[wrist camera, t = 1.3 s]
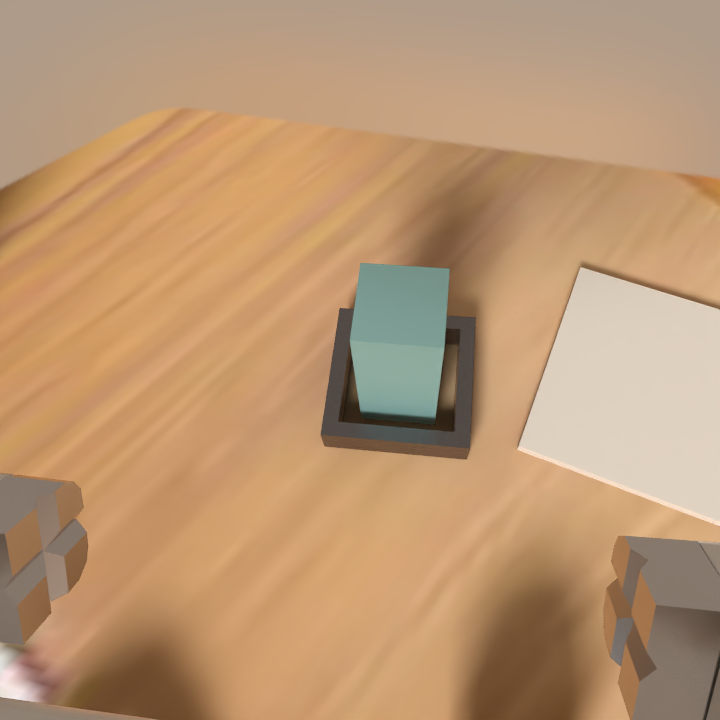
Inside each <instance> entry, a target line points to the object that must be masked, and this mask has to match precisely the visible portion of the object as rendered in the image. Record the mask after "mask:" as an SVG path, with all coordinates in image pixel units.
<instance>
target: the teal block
mask: <svg viewBox="0 0 720 720" xmlns="http://www.w3.org/2000/svg"><path fill="white" fill-rule="evenodd" d="M449 272H450V269H448V268H432V267H417V266H401V265H385V264H369V263H361V264H360V271H359V278H358V285H357V292H356V299H355V307H354V314H353V321H352V328H351V335H350V346H351V352H352V359H353V366H354V372H355V379H356V386H357V392H358V399H359V405H360V412H361V418H364V419H376V420H387V421H398V422H409V423H421V424H432V425H435V417H436V410H437V402H438V394H439V386H440V379H441V371H442V363H443V355H444V347H445V332H446V317H447V302H448V287H449Z"/></svg>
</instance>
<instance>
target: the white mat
mask: <svg viewBox="0 0 720 720" xmlns="http://www.w3.org/2000/svg"><path fill="white" fill-rule="evenodd" d="M517 450H519V451H522V452H525V453H527V454H530V455H533V456H535V457H538V458H541V459H543V460H546V461H549V462H551V463H554V464H556V465H559V466H562V467H564V468H567V469H570V470H572V471H575V472H578V473H580V474H583V475H586V476H588V477H591V478H593V479H596V480H599V481H601V482H604V483H607V484H609V485H612V486H615V487H617V488H620V489H623V490H625V491H628V492H631V493H633V494H636V495H638V496H641V497H644V498H646V499H649V500H652V501H654V502H657V503H660V504H662V505H665V506H668V507H670V508H673V509H675V510H678V511H681V512H683V513H686V514H689V515H691V516H694V517H697V518H699V519H702V520H705V521H707V522H710V523H713V524H715V525H718V526H720V309H717V308H713V307H710V306H707V305H703V304H700V303H697V302H694V301H690V300H687V299H684V298H681V297H677V296H674V295H671V294H667V293H664V292H661V291H658V290H654V289H651V288H648V287H644V286H641V285H638V284H635V283H631V282H628V281H625V280H622V279H618V278H615V277H612V276H608V275H605V274H602V273H599V272H595V271H592V270H589V269H585V268H582V267H581V268H580V270H579V272H578V275H577V278H576V281H575V284H574V286H573V289H572V292H571V295H570V298H569V301H568V304H567V307H566V310H565V312H564V315H563V318H562V321H561V324H560V327H559V330H558V333H557V336H556V338H555V341H554V344H553V347H552V350H551V353H550V356H549V359H548V362H547V364H546V367H545V370H544V373H543V376H542V379H541V382H540V385H539V388H538V390H537V393H536V396H535V399H534V402H533V405H532V408H531V411H530V414H529V416H528V419H527V422H526V425H525V428H524V431H523V434H522V437H521V439H520V442H519V445H518V448H517Z"/></svg>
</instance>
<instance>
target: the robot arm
mask: <svg viewBox="0 0 720 720" xmlns="http://www.w3.org/2000/svg"><path fill="white" fill-rule="evenodd" d="M83 508H84V505H83V499H82V493H81V488H80V487H79V486H78V485H77V484H76V483H75V482H73V481H65V480H56V479H48V478H40V477H31V476H23V475H13V474H8V473H0V642H2V643H12V644H22V645H24V644H25V642H26V641H27V640H28V639H29V638H30V637H31V636H32V634H33V633H34V632H35V631H36V630H37V629H38V628H39V626H40V625H41V624H42V623H43V622H44V621H45V620H46V618H47V617H48V616H49V615H50V614H51V604H50V601H53V600H55V599H57V598H59V597H61V596H63V595H65V594H67V593H69V592H70V590H71V589H72V588H73V587H74V586H75V584H76V583H77V582H78V581H79V579H80V577H81V574H82V572H83V569H84V567H85V564H86V562H87V553H88V539H87V532H86V531H85V529H84V528H83V527H82V526H81V524H80V523H79V522H78V521H77V519H76V518H77V517H78V515H79V514H80V512H81V511H82V509H83ZM611 562H612V564H613V567H614V570H615V572H616V575H617V579H616V580H615V581H614V582H612V583H611V584H610V585H609V586H608V587H607V588H606V595H605V602H604V634H605V640H606V645H607V648H608V651H609V655H610V657H611V658H612V659H613V660H614V661H615V662H616V663H617V664H619V665H620V666H621V670H620V675H619V681H618V684H619V687H620V690H621V693H622V696H623V699H624V702H625V705H626V709H627V712H628V715H629V718H630V720H720V543H719V542H702V541H687V540H673V539H660V538H646V537H632V536H618V538H617V540H616V543H615V545H614V549H613V555H612V560H611ZM0 720H157V719H150V718H143V717H136V716H129V715H122V714H115V713H108V712H101V711H94V710H87V709H79V708H72V707H65V706H58V705H51V704H44V703H37V702H30V701H23V700H16V699H9V698H2V697H0Z"/></svg>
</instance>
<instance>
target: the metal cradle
mask: <svg viewBox="0 0 720 720" xmlns="http://www.w3.org/2000/svg"><path fill="white" fill-rule="evenodd" d="M353 314H354V309H345V308H340V310H339V317H338V323H337V330H336V337H335V343H334V350H333V357H332V363H331V370H330V376H329V383H328V390H327V396H326V403H325V410H324V416H323V423H322V430H321V437H322V440H323V443H324V446H327V447H338V448H349V449H360V450H370V451H381V452H392V453H403V454H413V455H424V456H435V457H446V458H456V459H467V457H468V453H469V450H470V434H471V411H472V388H473V364H474V341H475V318H473V317H459V316H447V317H446V332H445V344H457V345H458V349H457V367H456V385H455V402H454V420H453V432H449V431H438V430H426V429H415V428H404V427H392V426H381V425H370V424H359V423H347V422H343V416H344V408H345V401H346V393H347V386H348V379H349V371H350V364H351V357H352V352H351V346H350V335H351V328H352V321H353Z"/></svg>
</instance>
